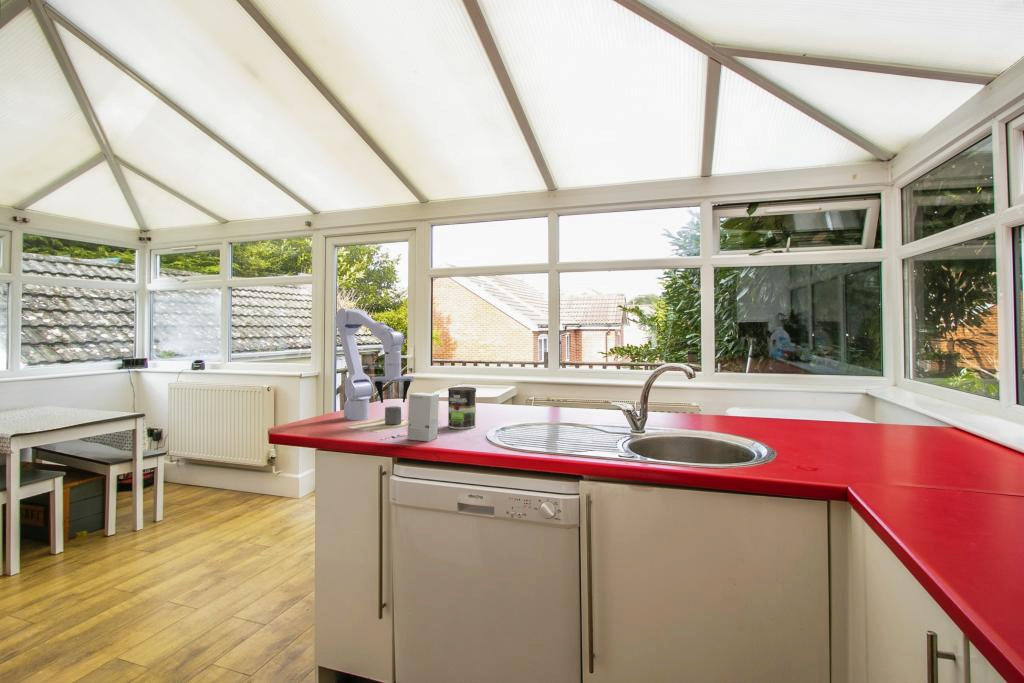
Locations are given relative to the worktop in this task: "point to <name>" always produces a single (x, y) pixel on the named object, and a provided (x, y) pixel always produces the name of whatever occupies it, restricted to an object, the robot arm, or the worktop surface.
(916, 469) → the worktop surface
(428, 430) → the skincare box
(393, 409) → the cap
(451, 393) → the coffee can
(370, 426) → the beige cloth
